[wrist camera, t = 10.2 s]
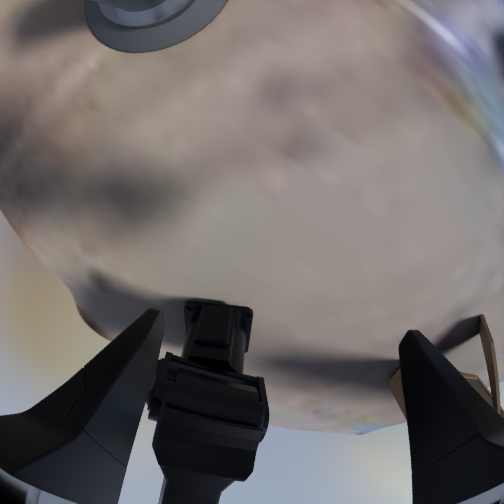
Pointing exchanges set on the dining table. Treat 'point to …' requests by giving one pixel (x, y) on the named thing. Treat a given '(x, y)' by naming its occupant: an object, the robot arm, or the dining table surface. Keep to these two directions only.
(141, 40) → the rubber pad
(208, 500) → the robot arm
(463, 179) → the dining table surface
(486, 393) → the photo frame
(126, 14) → the grey metal flared cylinder
